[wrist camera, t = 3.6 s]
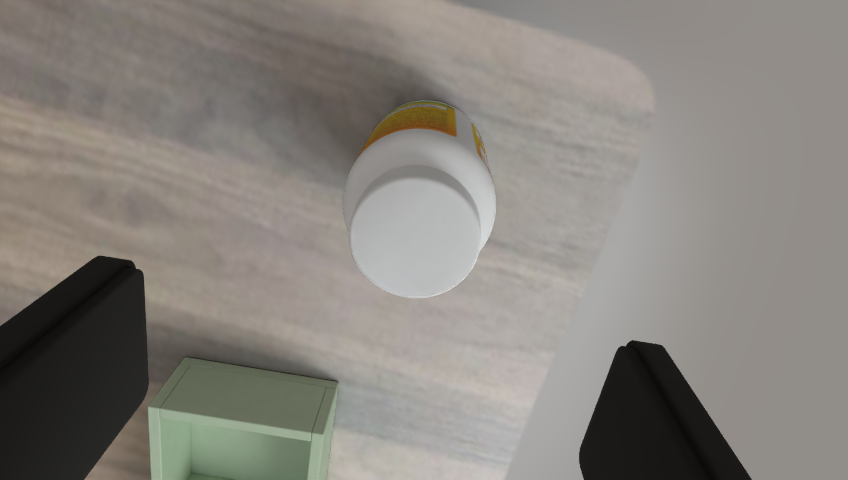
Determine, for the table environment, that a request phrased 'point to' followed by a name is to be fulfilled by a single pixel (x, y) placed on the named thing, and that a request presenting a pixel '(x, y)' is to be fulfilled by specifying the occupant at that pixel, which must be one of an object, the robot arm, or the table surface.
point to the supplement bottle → (419, 200)
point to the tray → (240, 424)
